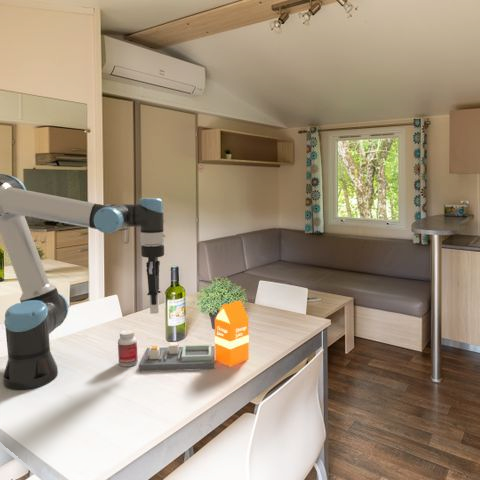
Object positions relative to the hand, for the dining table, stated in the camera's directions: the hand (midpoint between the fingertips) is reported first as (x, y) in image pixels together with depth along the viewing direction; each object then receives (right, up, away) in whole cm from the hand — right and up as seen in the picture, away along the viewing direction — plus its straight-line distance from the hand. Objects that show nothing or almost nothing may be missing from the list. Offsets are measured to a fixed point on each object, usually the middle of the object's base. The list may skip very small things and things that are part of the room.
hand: (154, 312), depth 145 cm
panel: (+8, -16, 0) cm, 18 cm away
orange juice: (+26, -16, +1) cm, 31 cm away
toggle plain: (+6, -14, +1) cm, 15 cm away
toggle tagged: (+1, -15, -3) cm, 15 cm away
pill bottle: (-9, -17, -2) cm, 19 cm away
